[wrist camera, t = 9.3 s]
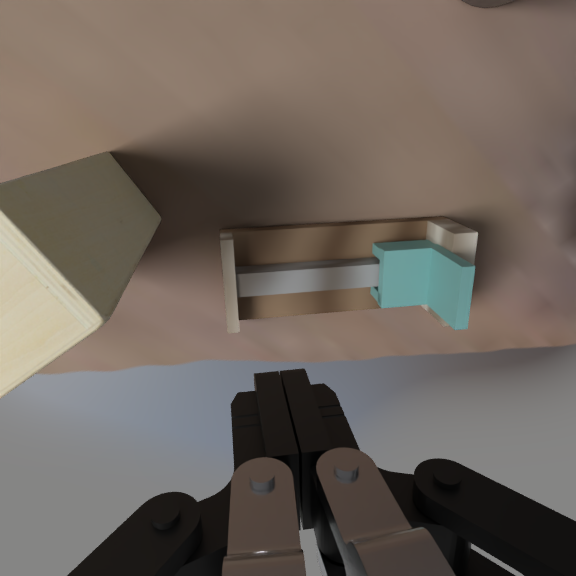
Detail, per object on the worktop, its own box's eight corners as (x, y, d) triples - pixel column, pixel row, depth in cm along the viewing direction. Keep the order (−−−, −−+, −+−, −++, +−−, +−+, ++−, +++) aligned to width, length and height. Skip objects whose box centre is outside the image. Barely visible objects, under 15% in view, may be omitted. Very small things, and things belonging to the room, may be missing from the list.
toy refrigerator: (103, 139, 35) (-37, 171, 16) (165, 216, 38) (112, 327, 18) (22, 199, 36) (-210, 302, 16) (88, 271, 38) (-41, 433, 19)
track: (442, 216, 41) (478, 232, 36) (434, 298, 44) (466, 324, 39) (219, 229, 39) (220, 249, 33) (226, 315, 42) (228, 346, 36)
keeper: (427, 238, 40) (475, 266, 33) (422, 290, 42) (467, 328, 35) (372, 241, 40) (408, 271, 32) (370, 295, 41) (404, 334, 34)
